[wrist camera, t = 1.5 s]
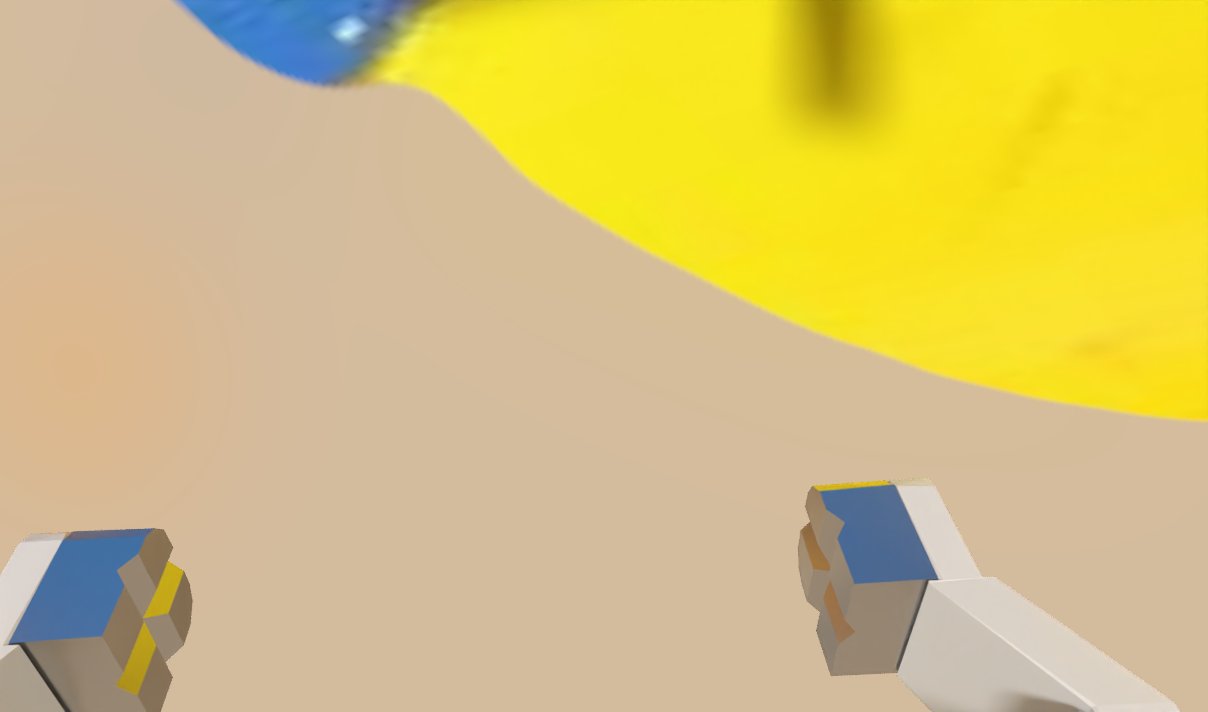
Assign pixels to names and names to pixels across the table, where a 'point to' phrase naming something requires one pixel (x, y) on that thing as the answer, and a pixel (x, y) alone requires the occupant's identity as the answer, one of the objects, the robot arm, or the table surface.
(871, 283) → the table surface
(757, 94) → the table surface
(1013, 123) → the table surface
